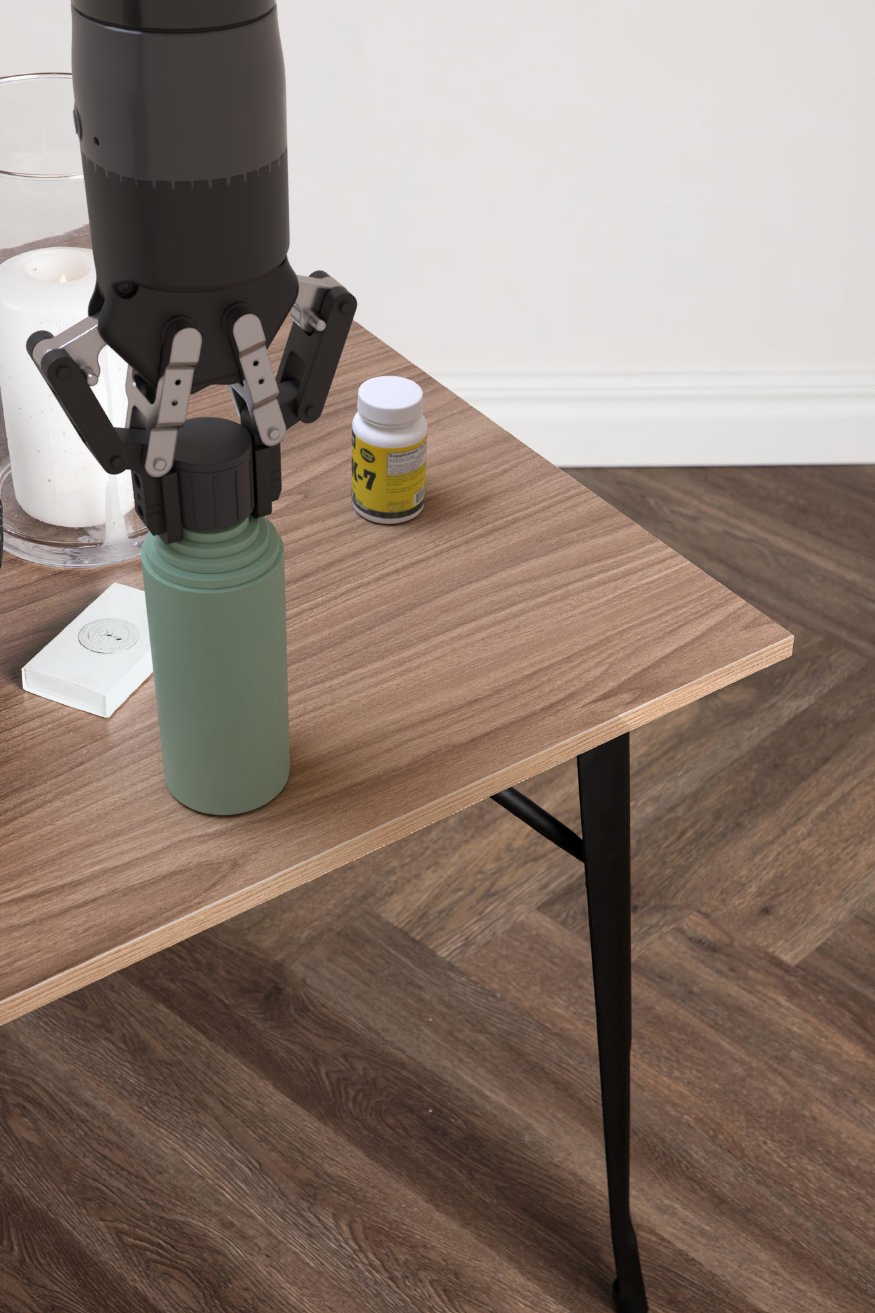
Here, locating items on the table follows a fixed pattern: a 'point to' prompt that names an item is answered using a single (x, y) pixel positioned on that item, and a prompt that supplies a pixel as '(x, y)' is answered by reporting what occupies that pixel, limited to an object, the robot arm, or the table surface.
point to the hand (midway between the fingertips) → (211, 518)
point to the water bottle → (220, 664)
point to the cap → (214, 473)
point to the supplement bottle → (389, 450)
